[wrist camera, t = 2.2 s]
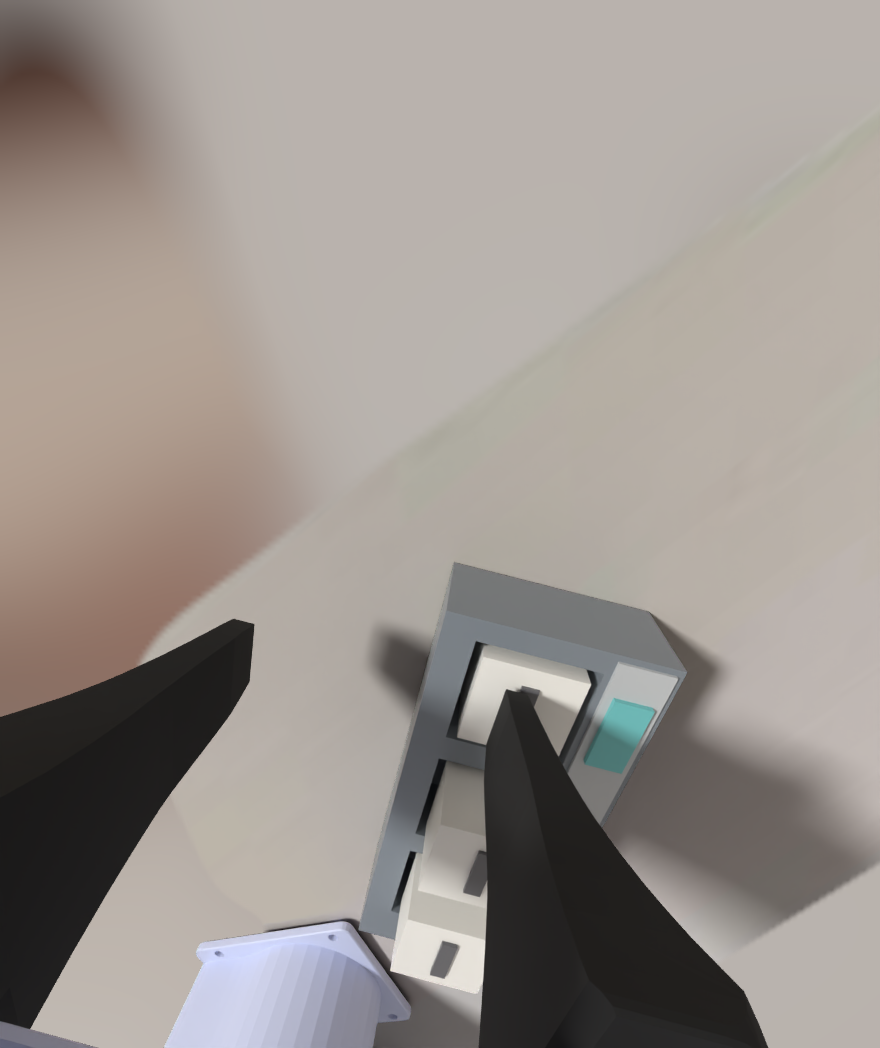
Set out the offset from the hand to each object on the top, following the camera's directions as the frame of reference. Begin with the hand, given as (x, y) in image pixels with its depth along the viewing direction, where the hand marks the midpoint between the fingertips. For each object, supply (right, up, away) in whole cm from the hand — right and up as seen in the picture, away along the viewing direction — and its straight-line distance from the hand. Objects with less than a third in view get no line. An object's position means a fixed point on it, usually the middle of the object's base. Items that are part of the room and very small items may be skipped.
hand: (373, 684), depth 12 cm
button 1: (+2, -9, +4) cm, 10 cm away
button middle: (+3, -5, +2) cm, 6 cm away
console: (+4, -4, +5) cm, 8 cm away
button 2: (+4, 0, +2) cm, 5 cm away
